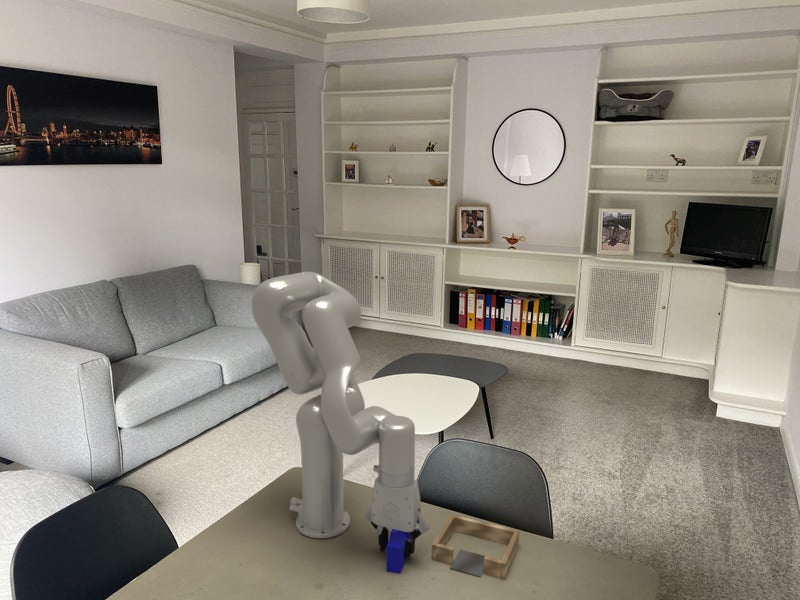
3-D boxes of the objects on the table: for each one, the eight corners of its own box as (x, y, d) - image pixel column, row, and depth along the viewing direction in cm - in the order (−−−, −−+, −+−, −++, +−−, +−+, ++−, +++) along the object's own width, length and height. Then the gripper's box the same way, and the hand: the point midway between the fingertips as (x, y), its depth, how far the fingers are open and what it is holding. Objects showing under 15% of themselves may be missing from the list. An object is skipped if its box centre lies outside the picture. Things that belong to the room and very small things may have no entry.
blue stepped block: (393, 537, 141) (393, 513, 140) (412, 540, 140) (413, 516, 139) (379, 570, 129) (379, 544, 128) (400, 573, 128) (400, 548, 127)
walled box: (429, 563, 132) (429, 548, 131) (450, 527, 145) (451, 514, 144) (502, 583, 126) (503, 568, 125) (518, 544, 139) (519, 530, 138)
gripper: (352, 475, 130) (353, 552, 134) (428, 491, 124) (427, 572, 127) (368, 459, 137) (368, 533, 141) (440, 474, 130) (439, 551, 134)
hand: (396, 551), depth 134 cm, fingers closed on blue stepped block, 5 cm apart
